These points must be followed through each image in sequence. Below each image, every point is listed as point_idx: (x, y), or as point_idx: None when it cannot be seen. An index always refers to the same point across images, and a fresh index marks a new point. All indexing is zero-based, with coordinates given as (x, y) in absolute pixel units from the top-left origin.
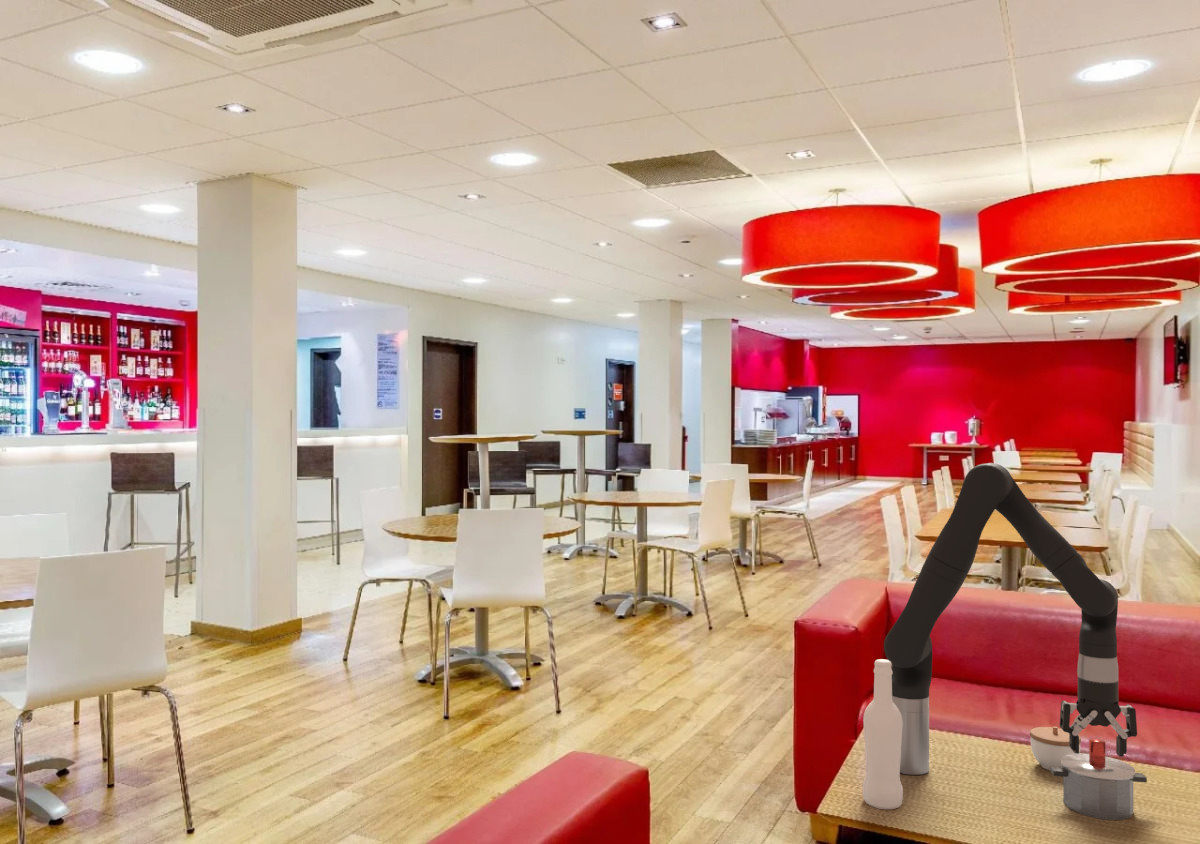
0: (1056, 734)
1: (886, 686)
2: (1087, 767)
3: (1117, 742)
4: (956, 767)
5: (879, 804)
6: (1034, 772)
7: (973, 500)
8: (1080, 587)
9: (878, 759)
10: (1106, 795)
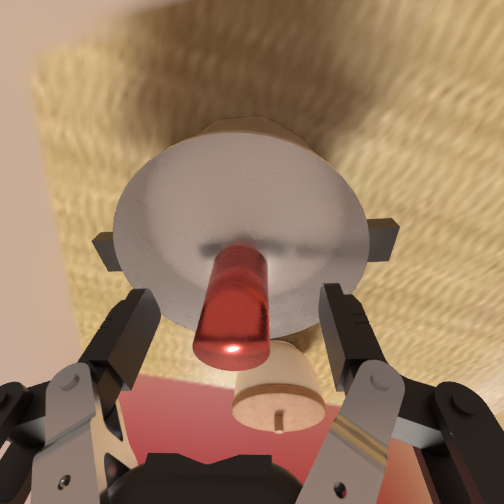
0: (277, 413)
1: None
2: (287, 233)
3: (137, 353)
4: (463, 326)
5: None
6: (319, 331)
7: None
8: None
9: None
10: (238, 129)
